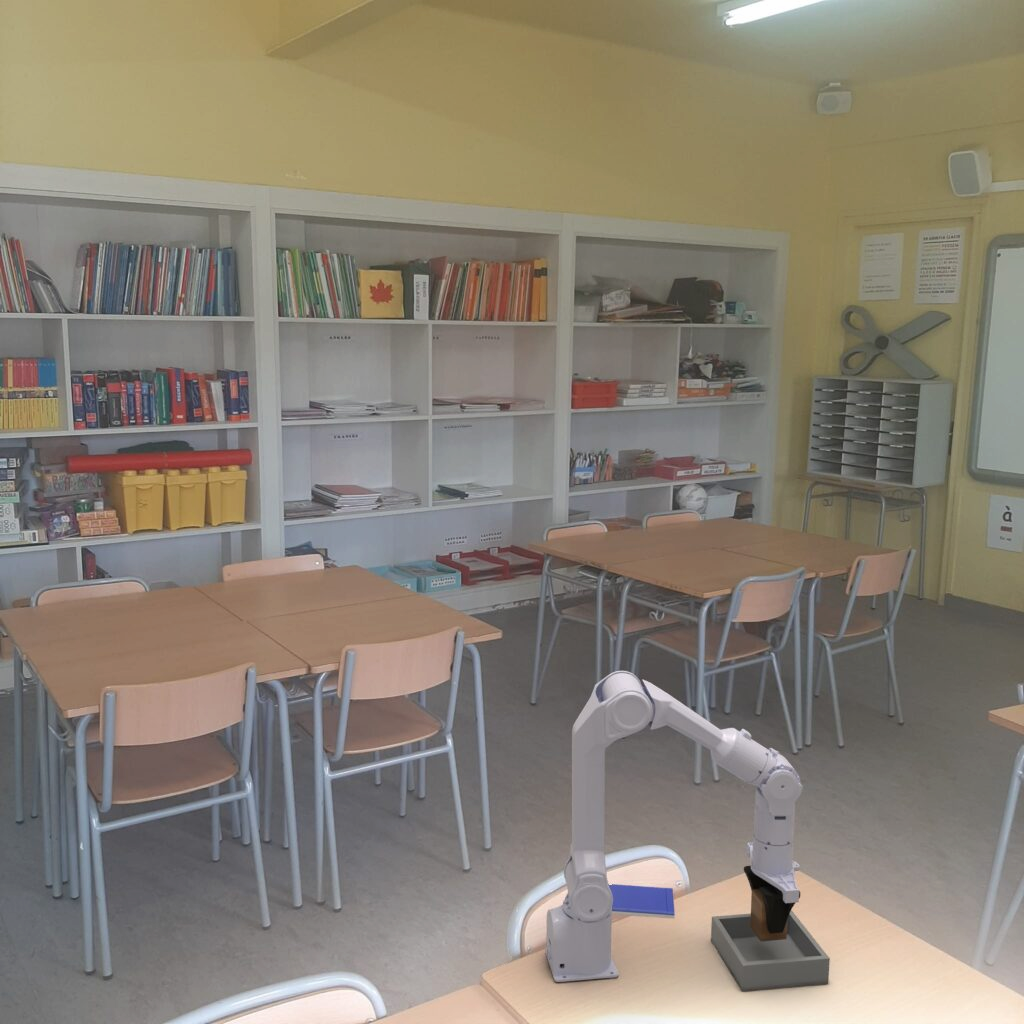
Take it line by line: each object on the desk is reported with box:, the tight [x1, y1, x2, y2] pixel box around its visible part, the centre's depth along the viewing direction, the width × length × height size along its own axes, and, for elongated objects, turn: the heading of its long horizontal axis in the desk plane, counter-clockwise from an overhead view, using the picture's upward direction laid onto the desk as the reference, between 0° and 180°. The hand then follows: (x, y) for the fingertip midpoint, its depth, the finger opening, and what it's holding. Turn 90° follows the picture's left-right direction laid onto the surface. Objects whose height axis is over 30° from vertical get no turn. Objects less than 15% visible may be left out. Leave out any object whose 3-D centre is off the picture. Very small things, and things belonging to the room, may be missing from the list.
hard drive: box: [609, 883, 676, 919], centre depth 168 cm, size 2×8×12 cm
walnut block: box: [750, 889, 787, 941], centre depth 150 cm, size 4×4×6 cm
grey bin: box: [710, 909, 831, 993], centre depth 151 cm, size 13×13×4 cm
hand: (769, 923), depth 151 cm, fingers closed on walnut block, 4 cm apart
